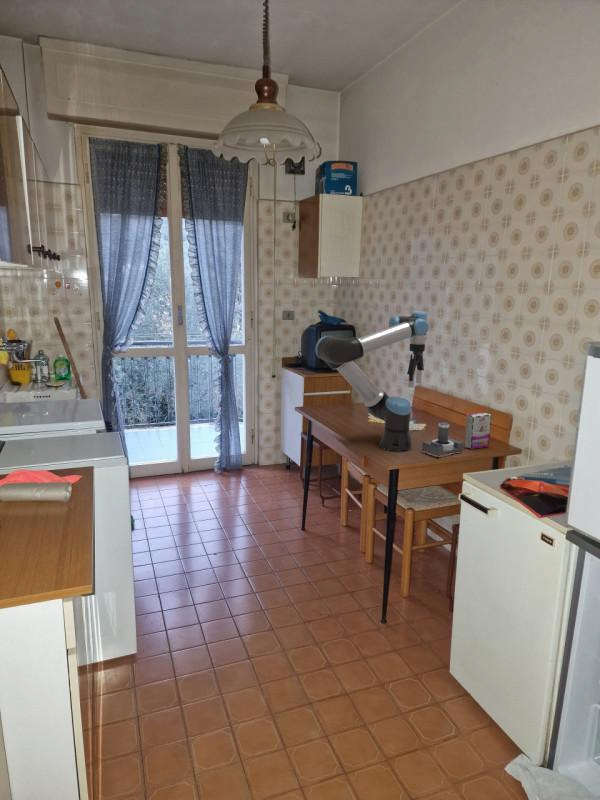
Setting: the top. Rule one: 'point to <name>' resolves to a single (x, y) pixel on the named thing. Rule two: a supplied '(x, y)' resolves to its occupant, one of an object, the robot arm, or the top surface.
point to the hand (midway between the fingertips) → (414, 385)
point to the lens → (443, 433)
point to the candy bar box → (477, 430)
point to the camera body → (442, 447)
